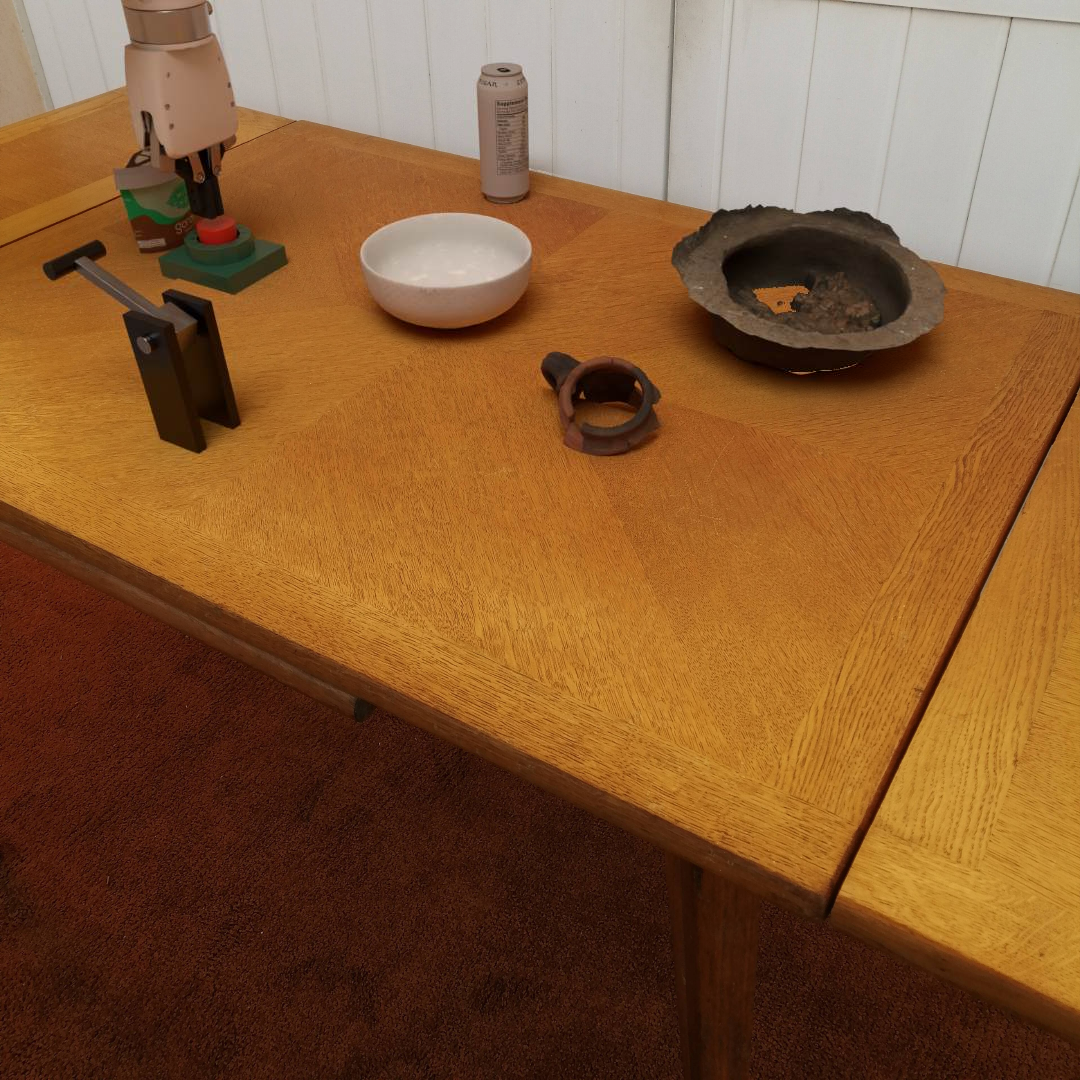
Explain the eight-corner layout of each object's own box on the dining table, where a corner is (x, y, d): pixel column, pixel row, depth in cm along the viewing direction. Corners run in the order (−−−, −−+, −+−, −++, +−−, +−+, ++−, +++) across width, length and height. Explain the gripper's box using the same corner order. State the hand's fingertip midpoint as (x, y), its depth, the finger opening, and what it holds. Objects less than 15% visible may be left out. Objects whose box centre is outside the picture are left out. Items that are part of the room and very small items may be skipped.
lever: (43, 279, 78) (41, 254, 76) (93, 255, 81) (93, 230, 79) (162, 364, 76) (163, 340, 75) (208, 336, 80) (210, 313, 78)
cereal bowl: (335, 330, 99) (324, 264, 95) (420, 264, 111) (414, 201, 106) (486, 367, 94) (482, 298, 89) (559, 293, 105) (560, 228, 101)
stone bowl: (723, 259, 111) (739, 176, 104) (949, 328, 102) (981, 242, 96) (624, 355, 94) (637, 263, 88) (884, 446, 86) (918, 353, 80)
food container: (191, 259, 112) (168, 170, 106) (136, 260, 112) (110, 170, 106) (219, 215, 121) (200, 131, 115) (169, 215, 122) (147, 131, 115)
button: (191, 242, 107) (187, 226, 106) (218, 228, 110) (214, 213, 109) (219, 249, 106) (216, 233, 104) (245, 236, 108) (242, 220, 107)
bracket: (122, 451, 84) (75, 312, 76) (191, 405, 89) (154, 271, 81) (219, 490, 80) (181, 348, 71) (286, 439, 85) (257, 302, 77)
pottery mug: (681, 424, 87) (686, 379, 79) (617, 506, 85) (616, 468, 77) (572, 354, 90) (566, 304, 83) (507, 432, 88) (495, 388, 81)
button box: (162, 276, 109) (153, 241, 106) (220, 246, 115) (213, 212, 112) (231, 297, 105) (223, 261, 103) (288, 264, 111) (281, 229, 108)
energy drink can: (513, 183, 129) (510, 58, 119) (538, 198, 125) (537, 70, 115) (473, 193, 126) (466, 66, 117) (496, 208, 123) (491, 79, 113)
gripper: (197, 4, 100) (231, 185, 112) (77, 35, 90) (128, 231, 102) (254, 13, 98) (282, 199, 109) (136, 47, 87) (182, 247, 99)
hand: (208, 214), depth 106 cm, fingers closed
